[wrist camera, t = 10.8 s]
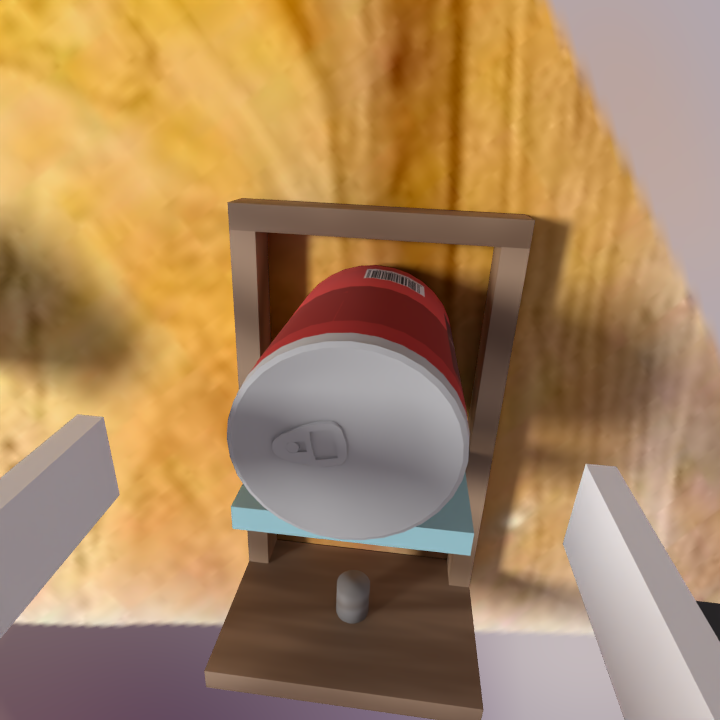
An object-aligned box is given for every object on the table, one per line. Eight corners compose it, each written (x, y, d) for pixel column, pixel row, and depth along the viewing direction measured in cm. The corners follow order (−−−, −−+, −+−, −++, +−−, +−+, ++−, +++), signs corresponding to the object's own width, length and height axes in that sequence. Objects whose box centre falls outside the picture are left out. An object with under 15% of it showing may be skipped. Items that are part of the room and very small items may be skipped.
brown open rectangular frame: (242, 198, 24) (149, 224, 16) (525, 214, 23) (586, 252, 15) (259, 551, 33) (206, 686, 25) (463, 575, 32) (479, 725, 23)
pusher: (278, 415, 28) (231, 506, 21) (459, 432, 27) (474, 533, 20) (279, 462, 29) (235, 563, 22) (452, 480, 29) (464, 590, 21)
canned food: (273, 295, 26) (180, 390, 16) (418, 234, 24) (417, 298, 14) (335, 416, 28) (289, 566, 18) (471, 370, 26) (504, 509, 16)
